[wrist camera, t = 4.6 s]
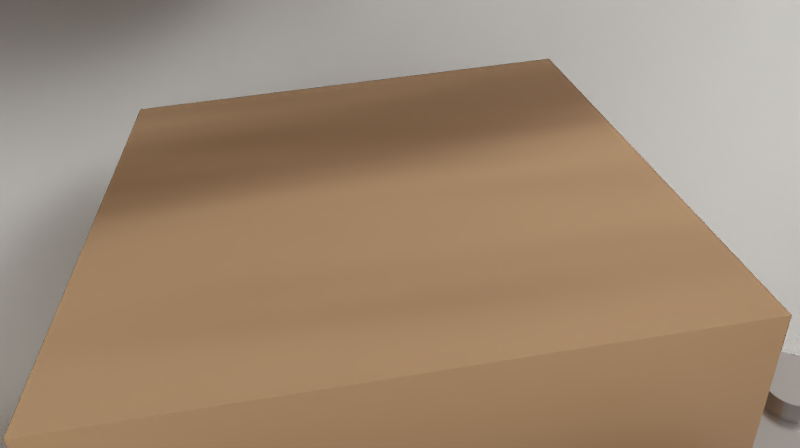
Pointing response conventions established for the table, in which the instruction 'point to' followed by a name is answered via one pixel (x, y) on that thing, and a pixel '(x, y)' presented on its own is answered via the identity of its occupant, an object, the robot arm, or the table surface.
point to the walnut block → (400, 282)
